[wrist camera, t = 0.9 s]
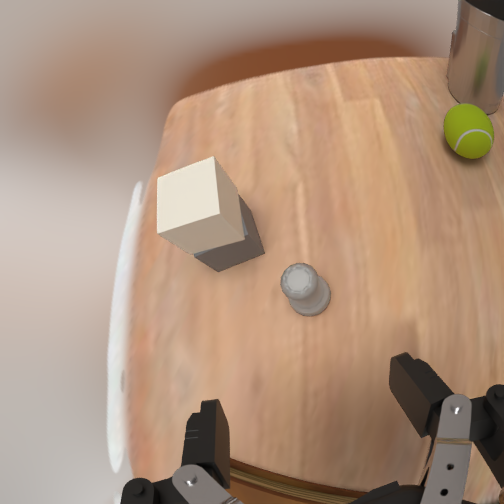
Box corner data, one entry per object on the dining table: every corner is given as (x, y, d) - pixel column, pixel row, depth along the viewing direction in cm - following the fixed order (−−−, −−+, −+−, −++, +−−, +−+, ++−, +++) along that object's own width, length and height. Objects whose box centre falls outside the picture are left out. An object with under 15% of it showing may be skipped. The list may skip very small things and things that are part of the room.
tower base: (207, 229, 38) (184, 209, 33) (250, 210, 37) (232, 186, 32) (218, 272, 36) (194, 257, 30) (264, 253, 35) (248, 234, 29)
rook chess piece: (317, 267, 32) (307, 242, 25) (338, 302, 30) (335, 287, 23) (282, 289, 33) (261, 270, 26) (301, 324, 31) (286, 316, 24)
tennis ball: (434, 125, 33) (442, 89, 26) (477, 130, 30) (489, 96, 24) (445, 167, 31) (458, 132, 24) (490, 171, 28) (508, 139, 22)
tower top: (187, 204, 33) (157, 177, 27) (237, 188, 31) (213, 156, 26) (190, 254, 31) (157, 233, 25) (244, 239, 29) (219, 213, 24)
